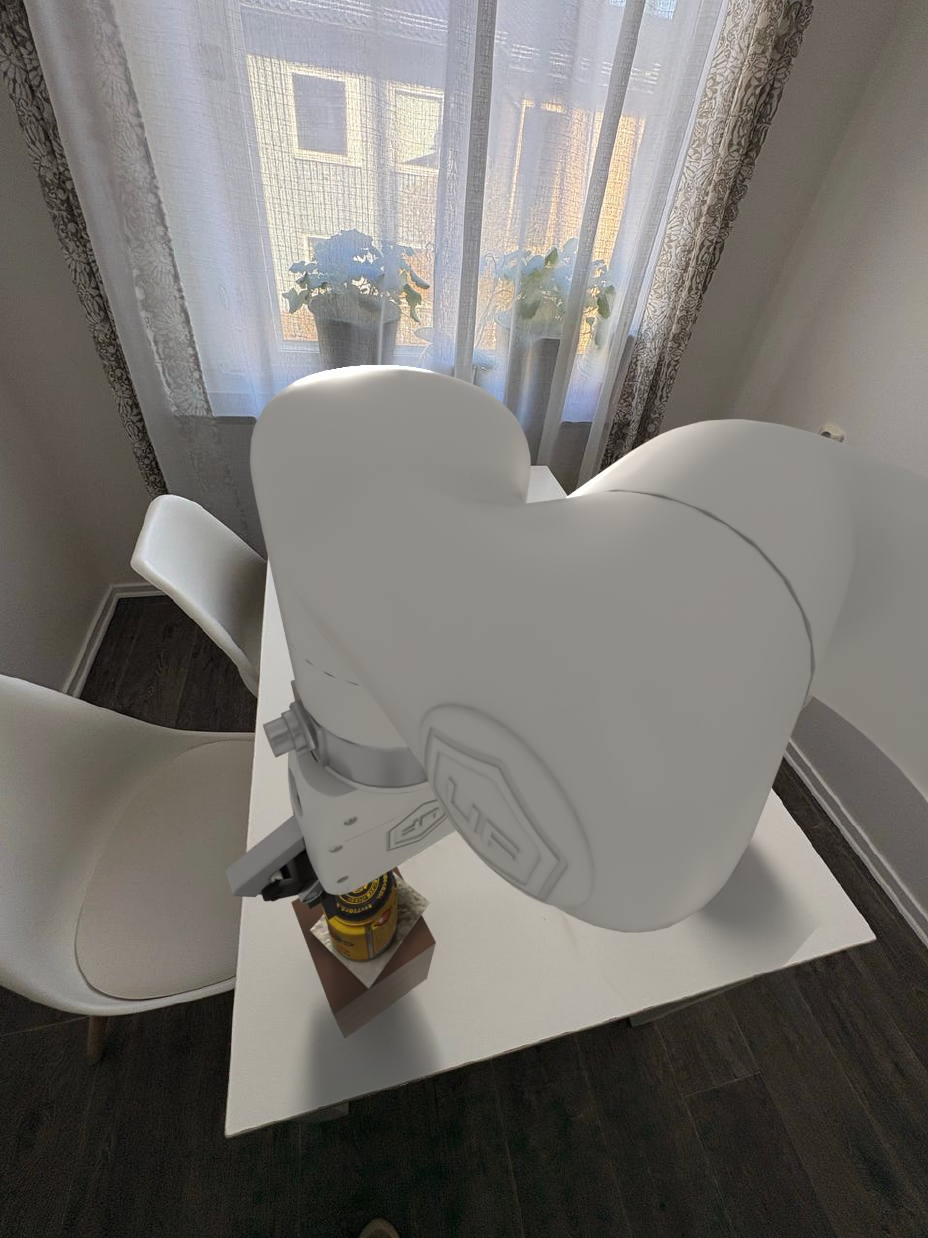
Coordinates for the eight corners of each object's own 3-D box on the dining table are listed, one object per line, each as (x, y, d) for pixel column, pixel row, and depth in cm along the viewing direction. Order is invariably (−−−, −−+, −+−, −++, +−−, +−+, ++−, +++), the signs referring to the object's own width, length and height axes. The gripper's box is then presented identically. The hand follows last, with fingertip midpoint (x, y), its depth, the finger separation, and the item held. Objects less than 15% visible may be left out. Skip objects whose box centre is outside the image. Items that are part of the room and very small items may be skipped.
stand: (427, 978, 58) (436, 942, 47) (344, 1039, 54) (333, 1015, 43) (387, 896, 64) (386, 846, 53) (309, 945, 59) (290, 902, 48)
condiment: (309, 931, 47) (292, 887, 38) (373, 855, 52) (371, 802, 43) (368, 989, 44) (364, 956, 36) (430, 903, 49) (438, 857, 41)
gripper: (197, 893, 16) (282, 999, 27) (603, 678, 23) (531, 833, 35) (148, 713, 20) (241, 872, 32) (505, 581, 27) (471, 749, 39)
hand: (393, 852), depth 33 cm, fingers open, 9 cm apart
